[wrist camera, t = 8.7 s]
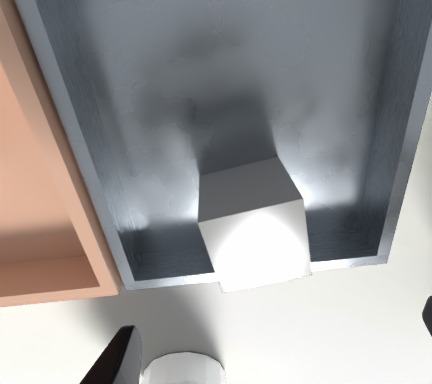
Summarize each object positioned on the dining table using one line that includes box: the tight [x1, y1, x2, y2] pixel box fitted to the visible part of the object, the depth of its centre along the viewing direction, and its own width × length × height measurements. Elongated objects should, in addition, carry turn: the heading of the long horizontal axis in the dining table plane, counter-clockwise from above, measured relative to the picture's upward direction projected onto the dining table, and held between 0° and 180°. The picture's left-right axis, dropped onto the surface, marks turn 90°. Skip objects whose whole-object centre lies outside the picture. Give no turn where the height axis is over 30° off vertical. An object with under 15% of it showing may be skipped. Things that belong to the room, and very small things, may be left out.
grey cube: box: [198, 157, 312, 293], centre depth 13 cm, size 4×4×4 cm
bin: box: [15, 0, 432, 291], centre depth 12 cm, size 14×14×2 cm
